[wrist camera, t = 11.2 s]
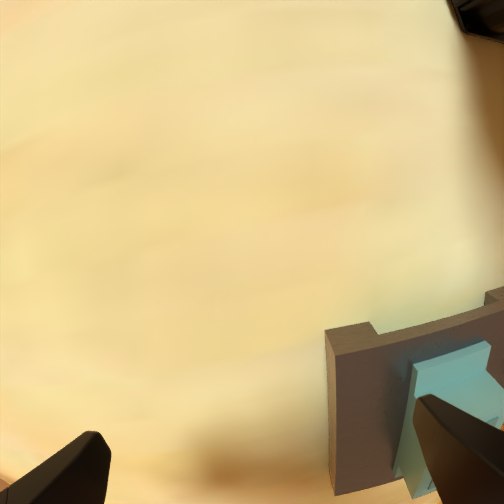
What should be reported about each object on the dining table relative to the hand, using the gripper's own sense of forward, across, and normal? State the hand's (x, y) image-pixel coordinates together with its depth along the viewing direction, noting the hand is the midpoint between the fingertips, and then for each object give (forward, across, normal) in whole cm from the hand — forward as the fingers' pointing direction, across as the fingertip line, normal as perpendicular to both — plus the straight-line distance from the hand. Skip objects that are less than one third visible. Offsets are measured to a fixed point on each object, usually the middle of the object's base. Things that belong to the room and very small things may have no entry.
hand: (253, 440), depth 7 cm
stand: (+12, -12, +12) cm, 21 cm away
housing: (+9, -12, +12) cm, 19 cm away
